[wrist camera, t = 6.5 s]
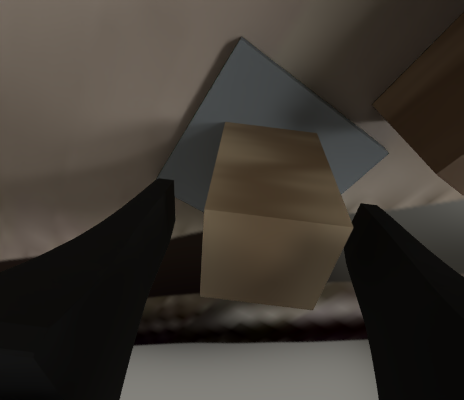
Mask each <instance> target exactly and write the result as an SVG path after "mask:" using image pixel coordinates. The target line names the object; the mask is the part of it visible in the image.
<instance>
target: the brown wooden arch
mask: <svg viewBox="0 0 464 400" xmlns="http://www.w3.org/2000/svg"><path fill="white" fill-rule="evenodd" d="M372 105H373V106H374V108H375V109H376V110H377V111H378V112H379V113H380V114H381V115H382V116H383V117H384V118H385V119H386V120H387V122H388V123H389V124H390V125H391V126H392V127H393V128H394V129H395V130H396V131H397V132H398V133H399V135H400V136H401V137H402V138H403V139H404V140H405V141H406V142H407V143H408V144H409V145H410V146H411V147H412V149H413V150H414V151H415V152H416V153H417V154H418V155H419V156H420V157H421V158H422V159H423V160H424V161H425V163H426V164H427V165H428V166H429V167H430V168H431V169H432V170H433V171H434V172H435V173H436V174H437V175H438V176H439V177H440V178H442V179H443V180H444V181H445V182H447V183H448V184H449V185H450V186H452V187H453V188H454V189H455V190H457V191H458V192H459V193H460V194H462V195H464V13H463V14H462V15H461V16H460V17H459V18H458V19H457V20H456V21H455V22H454V23H453V24H452V25H451V26H450V27H449V28H448V29H447V30H446V31H445V32H444V33H443V34H442V35H441V36H440V37H439V38H438V39H437V40H436V41H435V42H434V43H433V44H432V45H431V46H430V47H429V48H428V49H427V50H426V51H425V52H424V53H423V54H422V55H421V56H420V57H419V58H418V59H417V60H416V61H415V62H414V63H413V64H412V65H411V66H410V67H409V68H408V69H407V70H406V71H405V72H404V73H403V74H402V75H401V76H400V77H399V78H398V79H397V80H396V81H395V82H394V83H393V84H392V85H391V86H390V87H389V88H388V89H387V90H386V91H385V92H384V93H383V94H382V95H381V96H380V97H379V98H378V99H377V100H376V101H375V102H374V103H373V104H372Z"/></svg>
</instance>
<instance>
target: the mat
mask: <svg viewBox="0 0 464 400" xmlns="http://www.w3.org/2000/svg"><path fill="white" fill-rule="evenodd" d="M225 122H231V123H239V124H247V125H256V126H264V127H272V128H280V129H288V130H296V131H304V132H313V133H317V134H318V137H319V140H320V142H321V145H322V147H323V150H324V152H325V155H326V158H327V160H328V163H329V165H330V168H331V171H332V173H333V176H334V178H335V181H336V183H337V186H338V189H339V191H340V194H342V193H344V192H345V191H346V190H347V189H348V188H349V187H351V186H352V185H353V184H354V183H355V182H356V181H357V180H359V179H360V178H361V177H362V176H363V175H364V174H366V173H367V172H368V171H369V170H370V169H371V168H373V167H374V166H375V165H376V164H377V163H378V162H380V161H381V160H382V159H383V158H384V157H385V156H387V155H388V154H389V153H388V151H387V150H386V149H385V147H383V146H382V145H381V144H379V143H378V142H377V141H376V140H374V139H373V138H372V137H370V136H369V135H368V134H367V133H365V132H364V131H363V130H361V129H360V128H359V127H358V126H356V125H355V124H354V123H352V122H351V121H350V120H349V119H347V118H346V117H345V116H343V115H342V114H341V113H340V112H338V111H337V110H336V109H334V108H333V107H332V106H330V105H329V104H328V103H327V102H325V101H324V100H323V99H321V98H320V97H319V96H318V95H316V94H315V93H314V92H312V91H311V90H310V89H309V88H307V87H306V86H305V85H303V84H302V83H301V82H300V81H298V80H297V79H296V78H294V77H293V76H292V75H291V74H289V73H288V72H287V71H285V70H284V69H283V68H281V67H280V66H279V65H278V64H276V63H275V62H274V61H272V60H271V59H270V58H269V57H267V56H266V55H265V54H263V53H262V52H261V51H260V50H258V49H257V48H256V47H254V46H253V45H252V44H251V43H249V42H248V41H247V40H245V39H244V38H243V37H242V36H241V38H240V40H239V41H238V43H237V45H236V47H235V48H234V50H233V52H232V53H231V55H230V57H229V58H228V60H227V62H226V63H225V65H224V67H223V68H222V70H221V72H220V73H219V75H218V77H217V78H216V80H215V82H214V83H213V85H212V87H211V88H210V90H209V92H208V93H207V95H206V97H205V98H204V100H203V102H202V103H201V105H200V107H199V108H198V110H197V112H196V113H195V115H194V117H193V119H192V120H191V122H190V124H189V125H188V127H187V129H186V130H185V132H184V134H183V135H182V137H181V139H180V140H179V142H178V144H177V145H176V147H175V149H174V150H173V152H172V154H171V155H170V157H169V159H168V160H167V162H166V164H165V165H164V167H163V169H162V170H161V172H160V174H159V175H158V177H157V179H158V178H161V179H169V180H174V195H175V197H176V198H178V199H180V200H181V201H183V202H185V203H187V204H189V205H191V206H193V207H195V208H196V209H198V210H200V211H202V212H204V208H205V204H206V200H207V196H208V192H209V188H210V183H211V179H212V175H213V171H214V167H215V163H216V158H217V154H218V150H219V146H220V142H221V138H222V133H223V129H224V125H225ZM157 179H156V180H157Z"/></svg>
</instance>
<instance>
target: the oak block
mask: <svg viewBox="0 0 464 400" xmlns="http://www.w3.org/2000/svg"><path fill="white" fill-rule="evenodd" d="M353 228H354V227H353V225H352V222H351V220H350V217H349V214H348V212H347V209H346V207H345V204H344V202H343V199H342V196H341V194H340V191H339V189H338V186H337V183H336V181H335V178H334V176H333V173H332V171H331V168H330V165H329V163H328V160H327V158H326V155H325V152H324V150H323V147H322V145H321V142H320V140H319V137H318V134H317V133H313V132H304V131H296V130H288V129H280V128H272V127H264V126H256V125H247V124H239V123H231V122H225V125H224V129H223V133H222V138H221V142H220V146H219V150H218V154H217V158H216V163H215V167H214V171H213V175H212V179H211V183H210V188H209V192H208V196H207V200H206V204H205V208H204V226H203V246H202V267H201V288H200V296H201V297H209V298H217V299H226V300H234V301H242V302H250V303H258V304H266V305H274V306H282V307H291V308H299V309H307V310H313V309H314V307H315V305H316V303H317V301H318V299H319V297H320V295H321V293H322V291H323V289H324V287H325V285H326V283H327V281H328V278H329V276H330V274H331V272H332V270H333V268H334V266H335V264H336V262H337V260H338V258H339V256H340V254H341V252H342V250H343V248H344V246H345V244H346V242H347V240H348V238H349V236H350V234H351V232H352V230H353Z"/></svg>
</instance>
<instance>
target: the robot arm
mask: <svg viewBox="0 0 464 400" xmlns="http://www.w3.org/2000/svg"><path fill="white" fill-rule="evenodd" d="M174 223H175V195H174V180H169V179H161V178H158V179H157V180H155V181H154V182H153V183H151V184H150V185H149V186H148V187H147V188H145V189H144V190H143V191H142V192H141V193H139V194H138V195H137V196H136V197H135V198H133V199H132V200H131V201H129V202H128V203H127V204H126V205H124V206H123V207H122V208H121V209H119V210H118V211H116V212H115V213H114V214H112V215H111V216H109V217H108V218H107V219H105V220H104V221H102V222H101V223H99V224H98V225H96V226H94V227H93V228H91V229H90V230H88V231H86V232H84V233H83V234H81V235H79V236H78V237H76V238H74V239H72V240H70V241H68V242H66V243H64V244H62V245H60V246H58V247H56V248H54V249H52V250H50V251H48V252H46V253H44V254H42V255H40V256H38V257H36V258H33V259H31V260H29V261H27V262H25V263H22V264H20V265H17V266H15V267H12V268H10V269H7V270H5V271H2V272H0V400H119V399H120V395H121V391H122V387H123V383H124V379H125V375H126V371H127V368H128V364H129V360H130V356H131V352H132V348H133V345H134V341H135V338H136V334H137V331H138V327H139V324H140V320H141V317H142V313H143V310H144V306H145V303H146V300H147V297H148V294H149V292H150V289H151V287H152V284H153V282H154V279H155V277H156V274H157V272H158V269H159V267H160V265H161V262H162V260H163V257H164V255H165V252H166V250H167V247H168V245H169V242H170V239H171V235H172V231H173V227H174ZM352 225H353V227H354V228H353V230H352V232H351V234H350V236H349V238H348V240H347V242H346V244H345V246H344V252H345V258H346V264H347V267H348V271H349V274H350V277H351V281H352V284H353V287H354V290H355V293H356V297H357V300H358V303H359V306H360V309H361V312H362V315H363V319H364V322H365V326H366V330H367V335H368V340H369V344H370V349H371V354H372V360H373V366H374V371H375V378H376V383H377V390H378V398H379V400H464V277H463V276H461V275H460V274H459V273H457V272H456V271H455V270H453V269H452V268H451V267H449V266H448V265H447V264H445V263H444V262H443V261H442V260H441V259H439V258H438V257H437V256H436V255H434V254H433V253H432V252H431V251H429V250H428V249H427V248H426V247H425V246H424V245H422V244H421V243H420V242H419V241H418V240H417V239H415V238H414V237H413V236H412V235H411V234H410V233H409V232H407V231H406V230H405V229H404V228H403V227H402V226H401V225H400V224H398V223H397V222H396V221H395V220H394V219H393V218H392V217H391V216H389V215H388V214H387V213H386V212H385V211H384V210H382V209H381V208H380V207H378V206H377V205H371V204H363V203H361V204H360V206H359V208H358V210H357V212H356V214H355V217H354V219H353V221H352Z"/></svg>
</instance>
